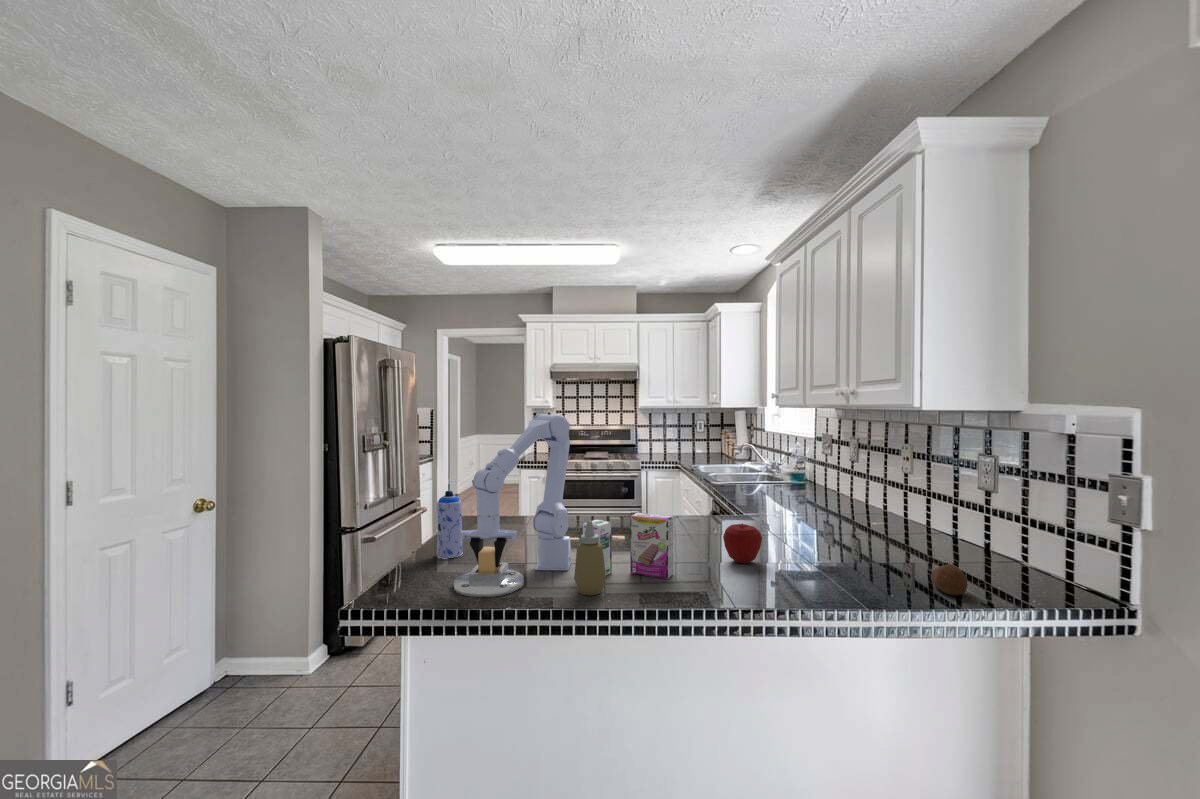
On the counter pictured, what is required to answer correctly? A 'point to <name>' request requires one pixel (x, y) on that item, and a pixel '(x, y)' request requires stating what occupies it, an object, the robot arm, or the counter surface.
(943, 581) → the potato
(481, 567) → the tan rectangular block
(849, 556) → the counter surface
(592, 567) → the squeeze bottle
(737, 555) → the apple
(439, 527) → the aerosol can
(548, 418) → the robot arm
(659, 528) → the candy bar box
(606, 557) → the syrup box
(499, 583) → the gray round plate
